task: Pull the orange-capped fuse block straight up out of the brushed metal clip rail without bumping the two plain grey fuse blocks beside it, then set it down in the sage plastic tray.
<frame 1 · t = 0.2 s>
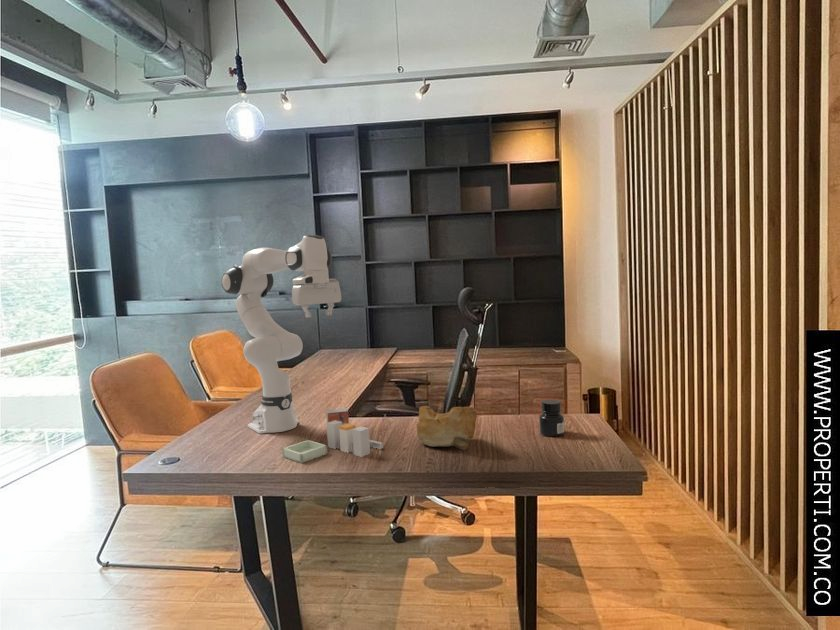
hand: (318, 316, 182), 47 cm above the table, tool pointing down, fingers open, 8 cm apart
tray: (305, 455, 171), on the table
clip rail: (348, 450, 174), on the table
rough brown rock: (453, 444, 176), on the table
ink bottle: (552, 434, 182), on the table
small box: (338, 437, 190), on the table
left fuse: (335, 446, 179), on the table
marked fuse: (348, 450, 174), on the table
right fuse: (361, 454, 169), on the table
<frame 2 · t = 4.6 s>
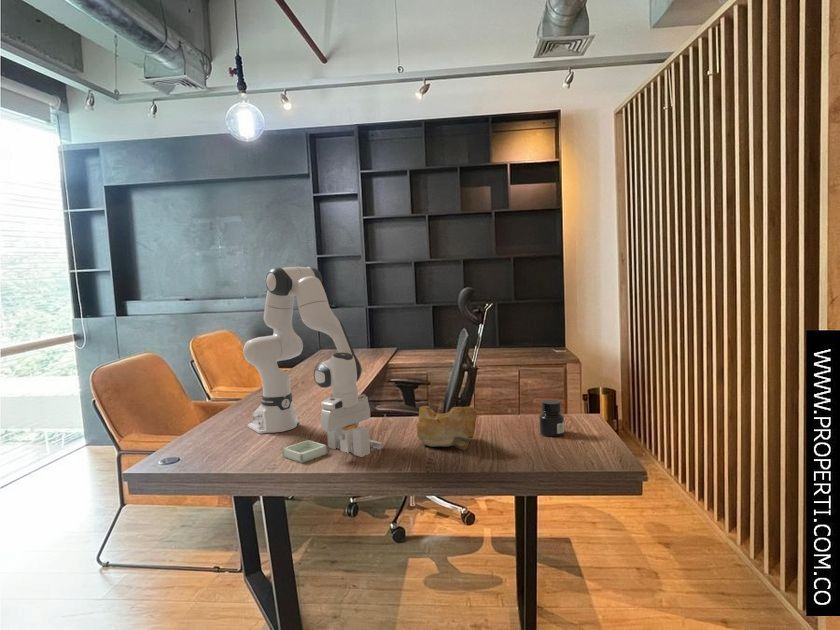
hand: (347, 437, 174), 5 cm above the table, tool pointing down, fingers closed on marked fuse, 4 cm apart
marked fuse: (348, 450, 174), on the table, touching gripper
everything else where it was.
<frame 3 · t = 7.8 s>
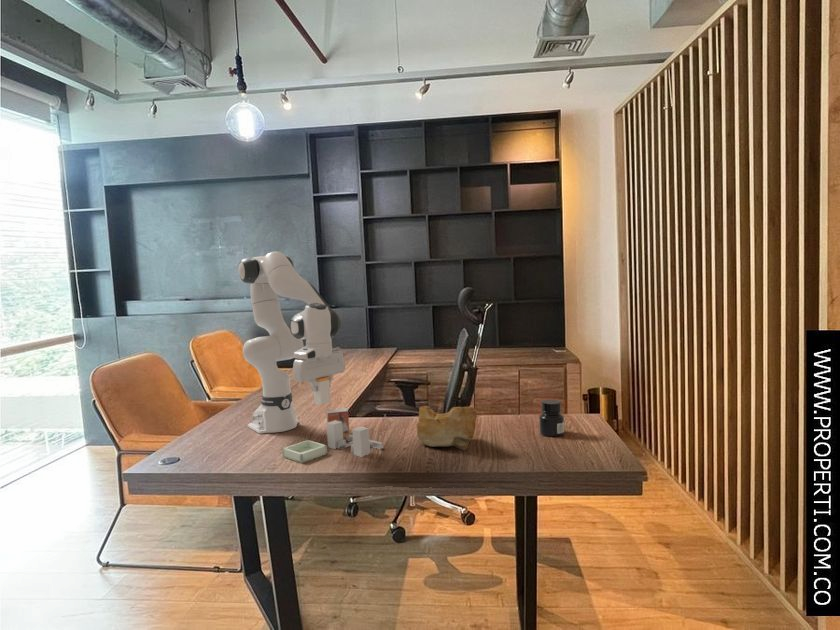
hand: (321, 389, 171), 22 cm above the table, tool pointing down, fingers closed on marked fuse, 4 cm apart
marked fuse: (322, 402, 171), point 18 cm above the table, touching gripper
everything else where it was.
when the fingers open (6 cm above the table, at t = 10.9 s): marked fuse stays where it is, resting on tray.
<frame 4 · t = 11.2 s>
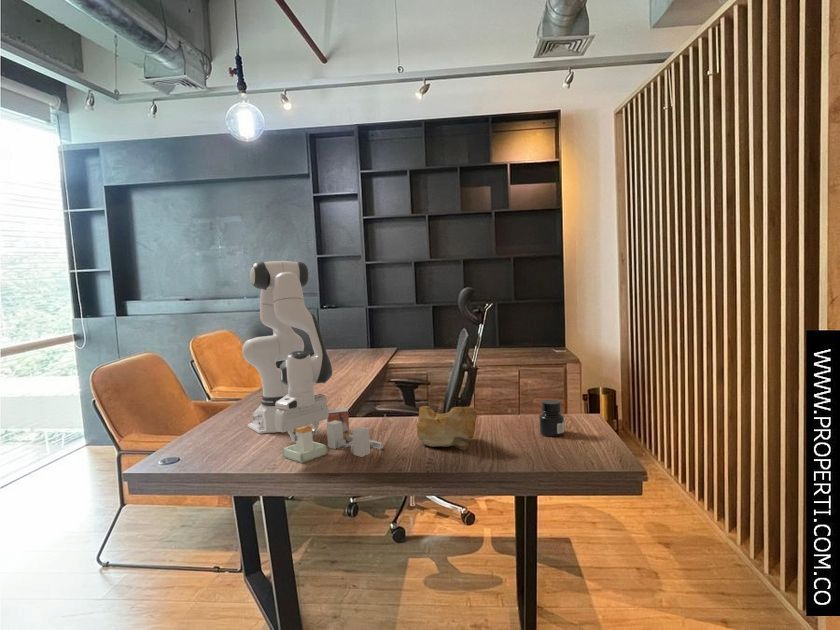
hand: (304, 437, 170), 6 cm above the table, tool pointing down, fingers open, 7 cm apart
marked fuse: (305, 453, 171), point 1 cm above the table, touching tray
everything else where it was.
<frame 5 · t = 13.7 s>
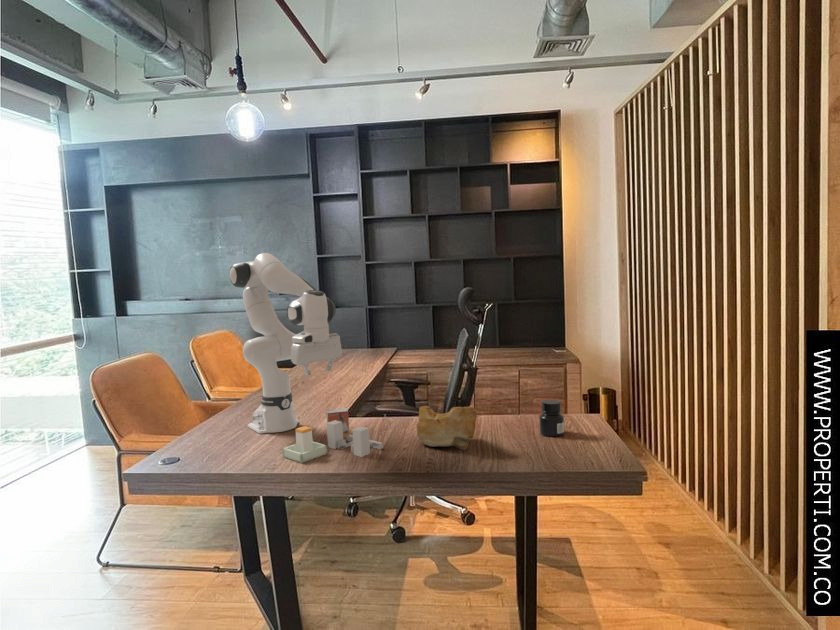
hand: (318, 373, 178), 27 cm above the table, tool pointing down, fingers open, 8 cm apart
nothing on the table moved.
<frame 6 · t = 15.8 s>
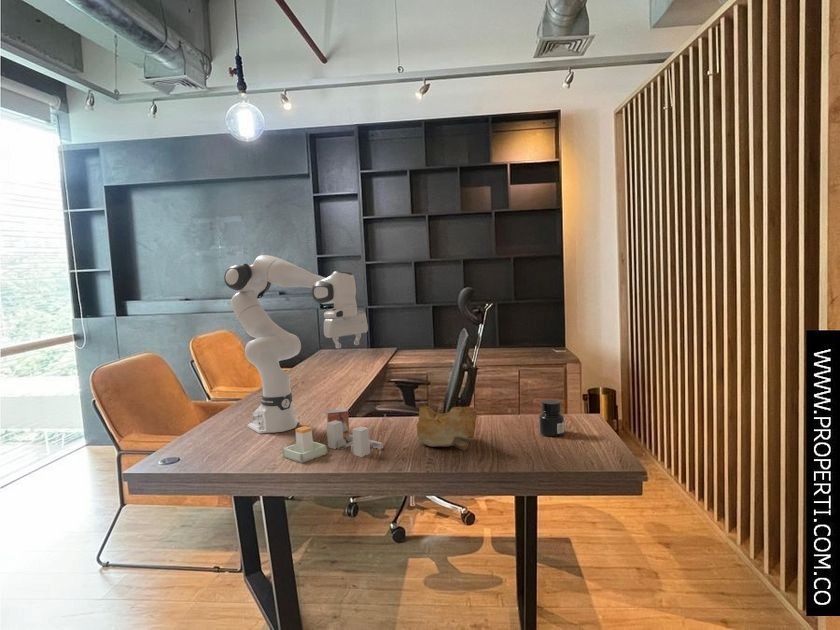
hand: (347, 346, 194), 34 cm above the table, tool pointing down, fingers open, 8 cm apart
nothing on the table moved.
at the end: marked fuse inside the target area on the tray (0.0 cm from its centre), point 0.6 cm above the tray's base; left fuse moved 0.0 cm from its start; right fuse moved 0.0 cm from its start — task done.
